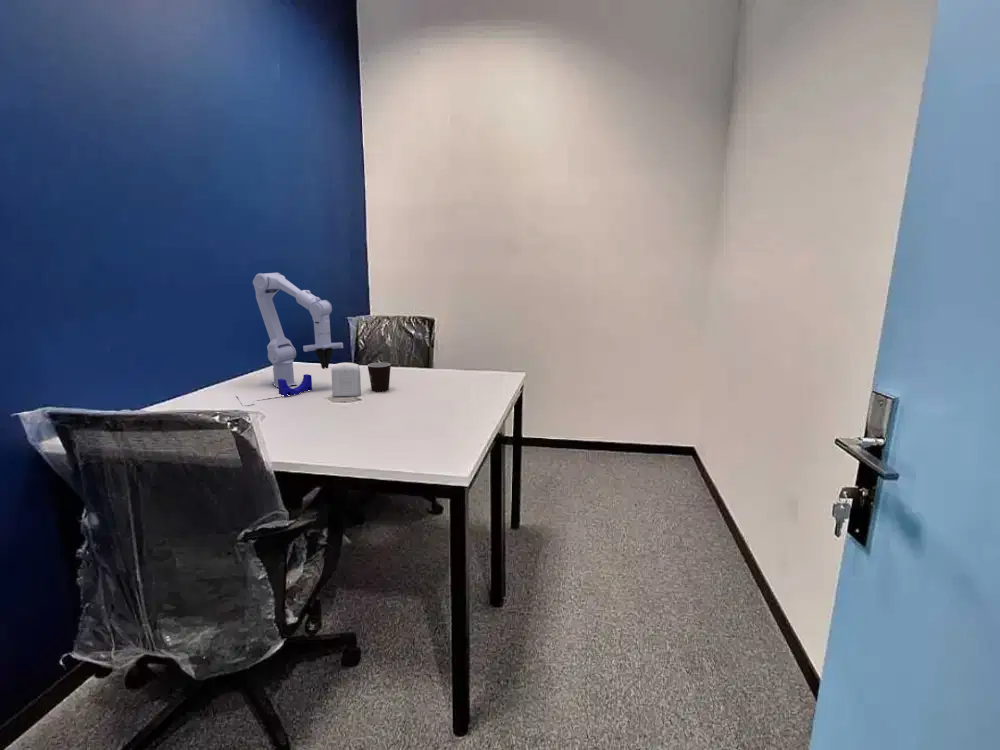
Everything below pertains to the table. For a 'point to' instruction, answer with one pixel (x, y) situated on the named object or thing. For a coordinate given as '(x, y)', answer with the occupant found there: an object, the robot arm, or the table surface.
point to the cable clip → (304, 386)
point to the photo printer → (346, 379)
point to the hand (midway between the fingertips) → (324, 368)
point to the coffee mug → (379, 376)
